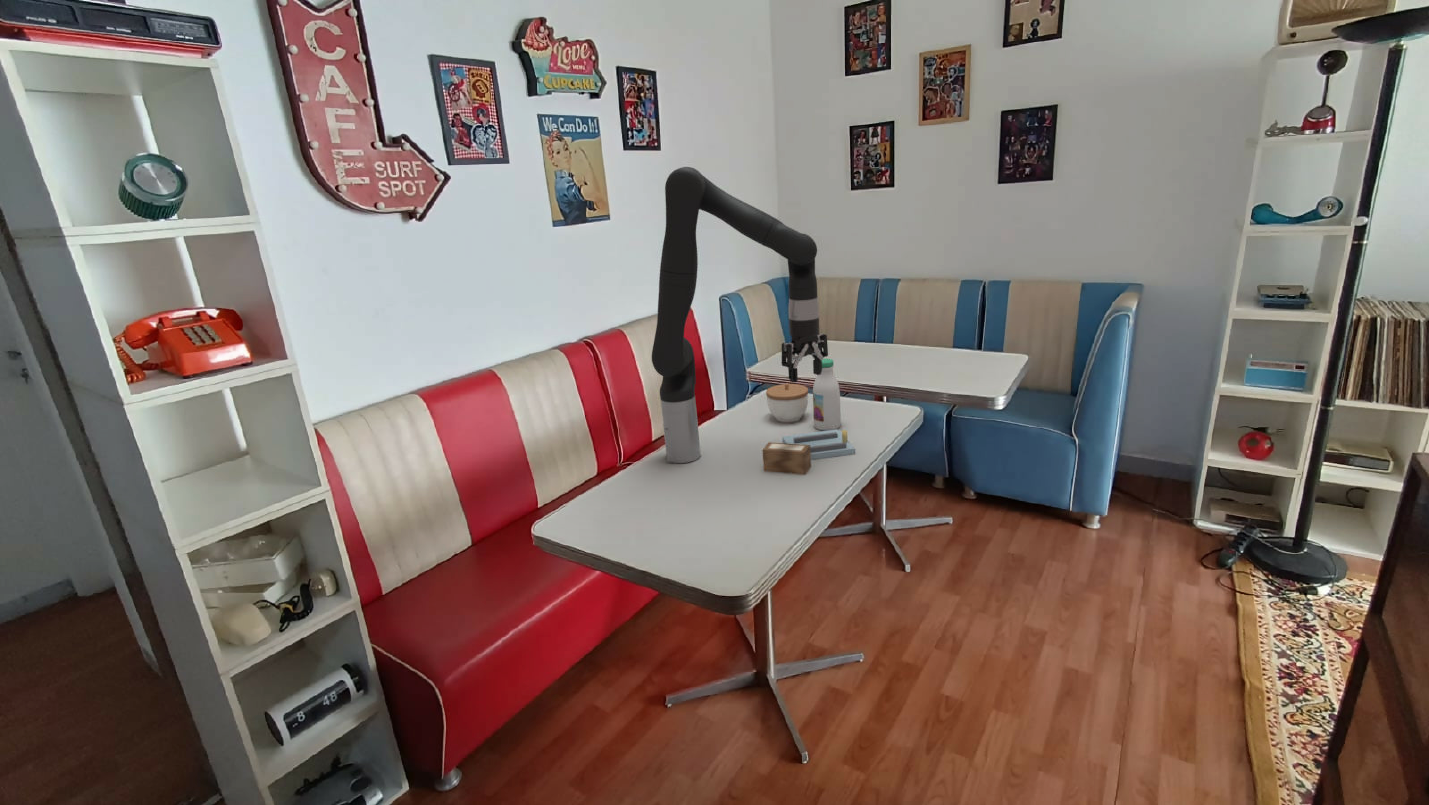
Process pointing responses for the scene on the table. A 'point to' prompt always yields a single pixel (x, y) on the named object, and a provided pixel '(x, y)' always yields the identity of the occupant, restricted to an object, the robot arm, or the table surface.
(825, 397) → the milk bottle
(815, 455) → the light blue flat tray
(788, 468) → the wooden block
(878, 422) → the table surface
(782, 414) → the lidded bowl
